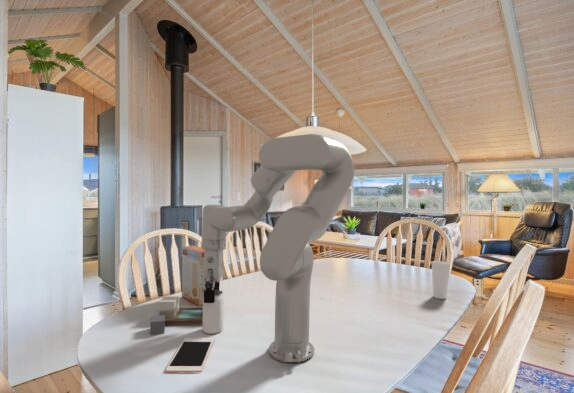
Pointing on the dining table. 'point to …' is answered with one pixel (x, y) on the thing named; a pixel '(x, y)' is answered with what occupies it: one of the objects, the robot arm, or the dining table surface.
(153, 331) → the block
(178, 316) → the mounting board
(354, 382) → the dining table surface
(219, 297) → the can
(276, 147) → the robot arm
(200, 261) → the cracker box
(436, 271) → the drinking glass
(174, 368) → the cell phone
